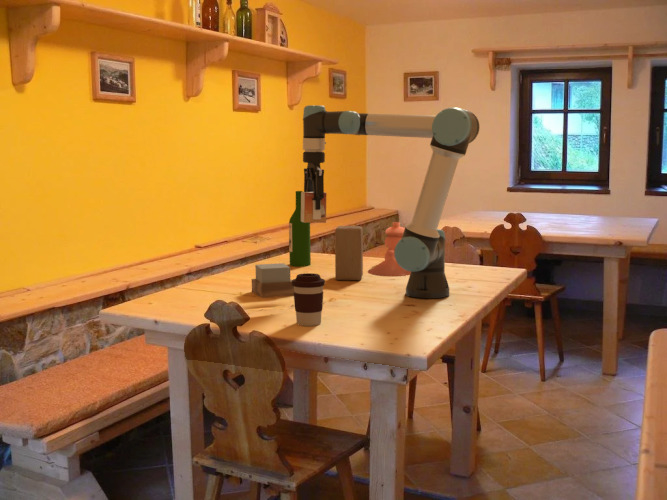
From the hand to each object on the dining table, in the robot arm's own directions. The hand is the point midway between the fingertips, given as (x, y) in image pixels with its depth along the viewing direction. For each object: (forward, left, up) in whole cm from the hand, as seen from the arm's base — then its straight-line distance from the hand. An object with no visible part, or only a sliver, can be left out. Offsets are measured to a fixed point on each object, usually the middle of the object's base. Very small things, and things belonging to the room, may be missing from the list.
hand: (313, 218), depth 256 cm
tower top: (+2, +15, -21) cm, 26 cm away
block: (+19, -22, -26) cm, 39 cm away
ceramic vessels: (+29, -47, -26) cm, 61 cm away
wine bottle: (+54, -15, -26) cm, 62 cm away
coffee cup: (-35, +16, -29) cm, 48 cm away
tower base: (+2, +15, -26) cm, 30 cm away
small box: (0, 0, -2) cm, 2 cm away
